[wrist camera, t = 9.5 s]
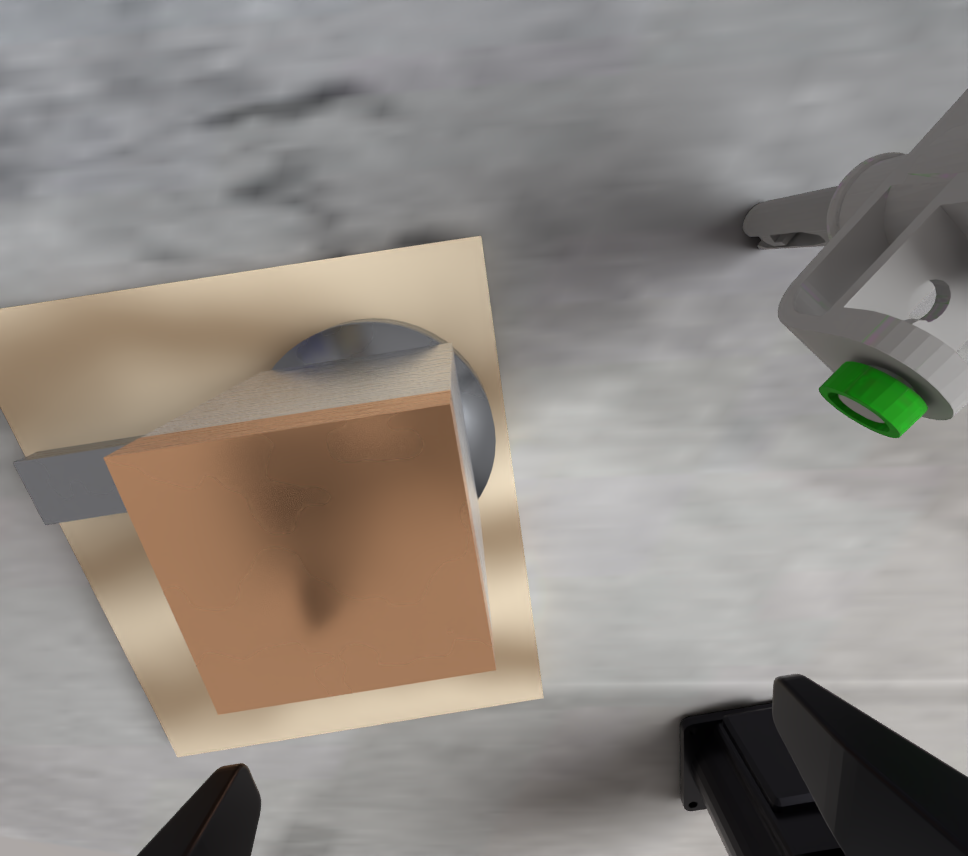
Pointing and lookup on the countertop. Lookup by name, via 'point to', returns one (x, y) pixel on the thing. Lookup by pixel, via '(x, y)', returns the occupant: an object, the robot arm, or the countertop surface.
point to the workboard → (204, 375)
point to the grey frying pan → (82, 470)
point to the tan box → (318, 530)
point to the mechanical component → (884, 279)
